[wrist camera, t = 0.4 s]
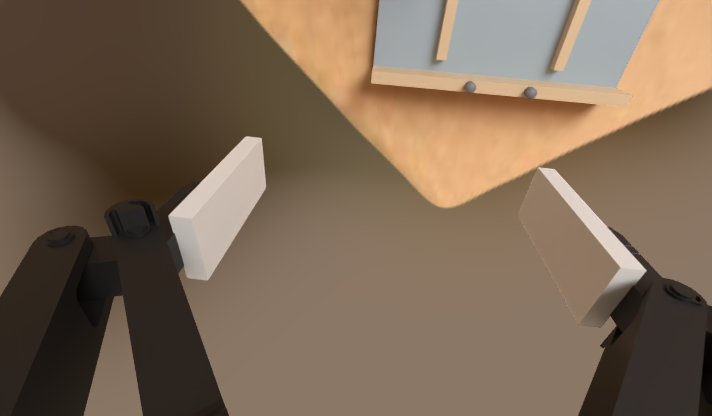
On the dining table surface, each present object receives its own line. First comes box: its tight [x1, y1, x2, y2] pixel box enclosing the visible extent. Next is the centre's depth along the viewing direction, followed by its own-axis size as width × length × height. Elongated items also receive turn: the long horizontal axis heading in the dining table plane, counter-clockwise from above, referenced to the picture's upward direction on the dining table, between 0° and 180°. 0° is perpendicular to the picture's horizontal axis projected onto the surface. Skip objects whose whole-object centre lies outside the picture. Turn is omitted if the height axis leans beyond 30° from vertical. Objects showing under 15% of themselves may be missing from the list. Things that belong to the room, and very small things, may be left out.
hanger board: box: [371, 0, 659, 107], centre depth 32 cm, size 11×26×5 cm, turn 86°
